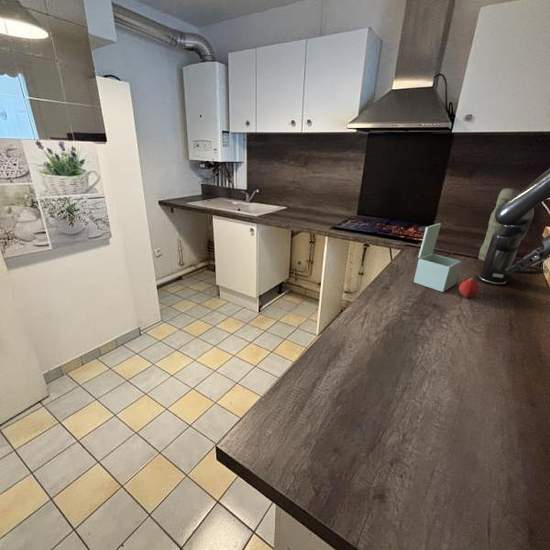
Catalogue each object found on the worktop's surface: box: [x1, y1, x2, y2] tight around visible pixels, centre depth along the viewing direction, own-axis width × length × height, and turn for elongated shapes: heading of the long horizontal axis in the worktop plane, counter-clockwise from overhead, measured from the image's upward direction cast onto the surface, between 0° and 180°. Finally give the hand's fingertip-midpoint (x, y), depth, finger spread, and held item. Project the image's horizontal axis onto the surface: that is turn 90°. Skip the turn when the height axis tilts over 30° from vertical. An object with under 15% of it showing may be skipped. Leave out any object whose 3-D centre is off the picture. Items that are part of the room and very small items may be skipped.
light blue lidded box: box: [413, 252, 462, 293], centre depth 117 cm, size 12×12×10 cm
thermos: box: [477, 187, 520, 262], centre depth 141 cm, size 9×12×35 cm
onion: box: [458, 277, 479, 299], centre depth 106 cm, size 6×6×8 cm
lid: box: [417, 222, 442, 259], centre depth 118 cm, size 12×12×5 cm
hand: (512, 268), depth 95 cm, fingers open, 8 cm apart
